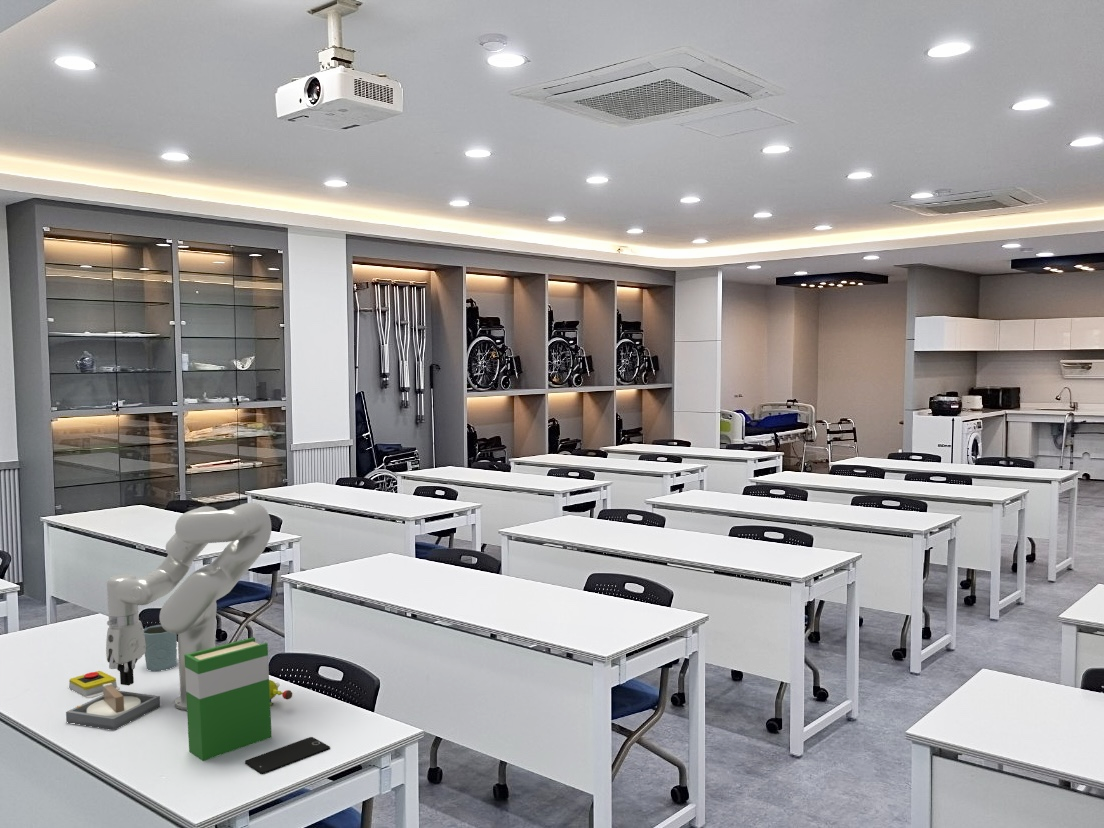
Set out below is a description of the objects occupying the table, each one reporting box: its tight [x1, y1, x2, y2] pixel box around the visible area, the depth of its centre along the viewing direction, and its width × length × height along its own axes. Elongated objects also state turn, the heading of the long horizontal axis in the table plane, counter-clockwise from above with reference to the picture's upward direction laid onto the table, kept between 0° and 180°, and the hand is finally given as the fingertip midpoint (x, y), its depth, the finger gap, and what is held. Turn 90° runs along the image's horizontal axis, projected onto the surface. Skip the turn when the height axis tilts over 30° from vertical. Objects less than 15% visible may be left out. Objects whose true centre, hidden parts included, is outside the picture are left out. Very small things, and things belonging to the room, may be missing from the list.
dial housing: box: [65, 690, 161, 731], centre depth 241 cm, size 16×16×3 cm
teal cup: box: [143, 624, 178, 672], centre depth 278 cm, size 10×10×12 cm
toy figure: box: [269, 679, 293, 707], centre depth 245 cm, size 18×6×7 cm, turn 59°
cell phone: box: [244, 736, 331, 775], centre depth 214 cm, size 9×18×1 cm, turn 136°
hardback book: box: [184, 636, 272, 762], centre depth 220 cm, size 18×7×24 cm, turn 135°
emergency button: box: [68, 670, 121, 699], centre depth 261 cm, size 9×4×15 cm
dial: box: [87, 683, 141, 717], centre depth 240 cm, size 13×13×6 cm
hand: (127, 683), depth 251 cm, fingers closed
